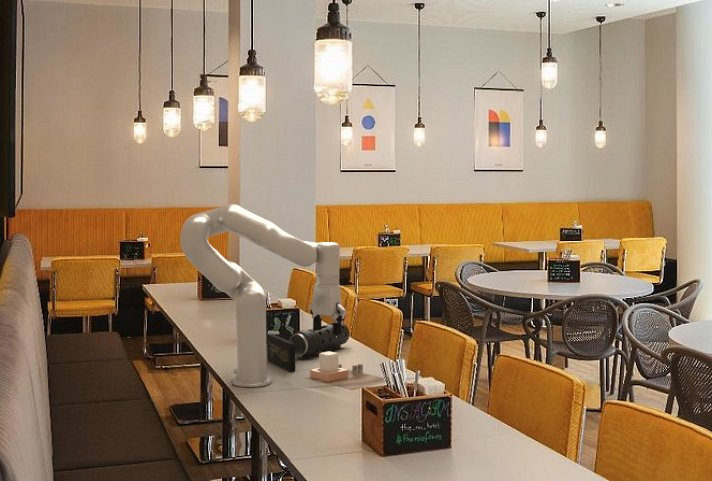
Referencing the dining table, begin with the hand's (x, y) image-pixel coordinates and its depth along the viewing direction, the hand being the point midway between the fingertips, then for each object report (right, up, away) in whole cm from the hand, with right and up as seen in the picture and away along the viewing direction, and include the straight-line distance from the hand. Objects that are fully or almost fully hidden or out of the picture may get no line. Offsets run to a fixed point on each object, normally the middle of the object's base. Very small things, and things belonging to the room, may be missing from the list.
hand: (326, 332), depth 291 cm
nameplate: (-17, -15, +23) cm, 32 cm away
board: (+7, -16, -1) cm, 17 cm away
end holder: (+1, -16, +1) cm, 16 cm away
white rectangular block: (+1, -15, +1) cm, 15 cm away
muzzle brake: (-4, -13, +45) cm, 47 cm away
